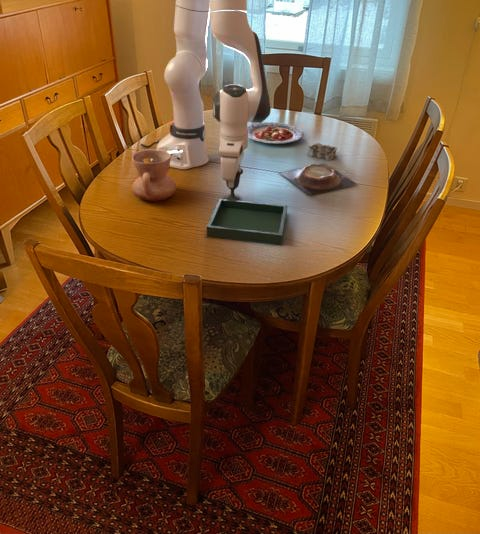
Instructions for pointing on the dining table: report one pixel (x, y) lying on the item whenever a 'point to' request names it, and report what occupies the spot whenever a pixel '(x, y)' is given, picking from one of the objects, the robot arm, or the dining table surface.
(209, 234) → the serving tray
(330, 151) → the egg carton
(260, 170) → the dining table surface
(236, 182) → the sundae
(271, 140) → the ceramic plate
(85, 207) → the dining table surface
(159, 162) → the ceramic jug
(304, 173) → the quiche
